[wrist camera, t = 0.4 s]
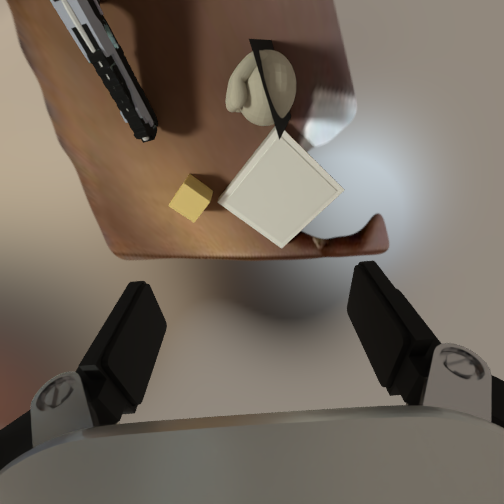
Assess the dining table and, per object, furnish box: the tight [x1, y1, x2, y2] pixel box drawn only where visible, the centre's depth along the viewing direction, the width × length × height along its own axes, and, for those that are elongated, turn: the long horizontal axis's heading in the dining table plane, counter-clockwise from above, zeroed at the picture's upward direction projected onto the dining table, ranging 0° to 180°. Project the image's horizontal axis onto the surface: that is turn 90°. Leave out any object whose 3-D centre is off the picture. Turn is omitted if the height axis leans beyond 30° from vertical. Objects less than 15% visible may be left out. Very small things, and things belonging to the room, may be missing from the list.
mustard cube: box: [169, 174, 213, 222], centre depth 42 cm, size 5×5×5 cm
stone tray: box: [218, 127, 344, 248], centre depth 43 cm, size 16×16×2 cm
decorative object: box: [226, 39, 296, 140], centre depth 31 cm, size 12×10×10 cm
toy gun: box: [50, 0, 158, 143], centre depth 30 cm, size 2×18×11 cm, turn 13°
